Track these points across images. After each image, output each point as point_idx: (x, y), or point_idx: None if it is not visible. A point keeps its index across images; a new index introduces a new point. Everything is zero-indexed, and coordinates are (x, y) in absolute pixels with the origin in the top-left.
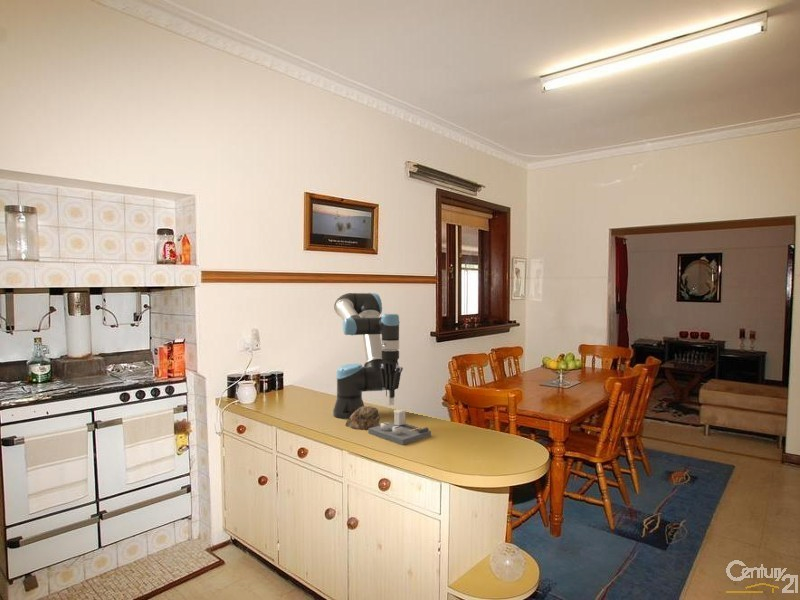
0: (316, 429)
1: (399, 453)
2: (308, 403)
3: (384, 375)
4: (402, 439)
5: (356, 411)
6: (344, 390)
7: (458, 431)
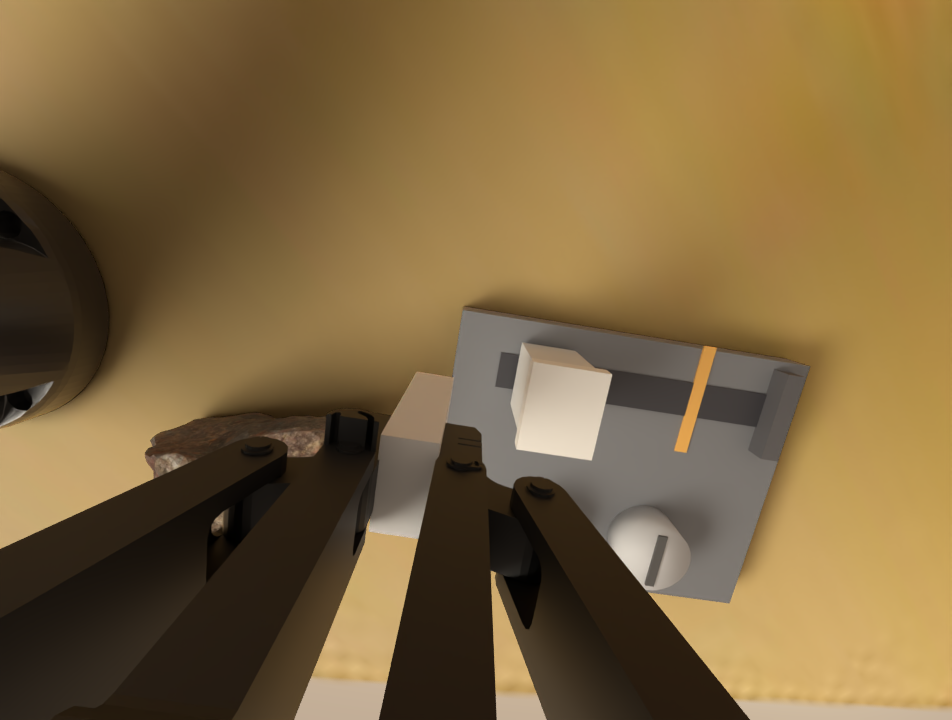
0: None
1: (759, 672)
2: None
3: (41, 696)
4: (725, 598)
5: None
6: None
7: (922, 143)
